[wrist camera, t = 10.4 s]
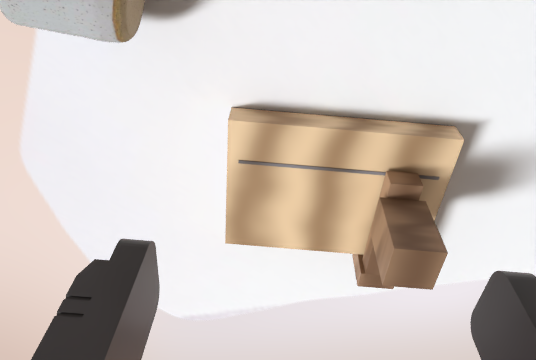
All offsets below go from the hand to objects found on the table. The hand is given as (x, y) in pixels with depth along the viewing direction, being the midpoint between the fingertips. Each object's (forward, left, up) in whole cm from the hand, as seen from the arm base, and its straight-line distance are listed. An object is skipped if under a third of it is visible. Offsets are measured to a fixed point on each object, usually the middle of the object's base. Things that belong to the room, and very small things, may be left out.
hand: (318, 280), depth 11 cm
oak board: (-5, +16, -28) cm, 33 cm away
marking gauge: (-10, +19, -28) cm, 35 cm away
